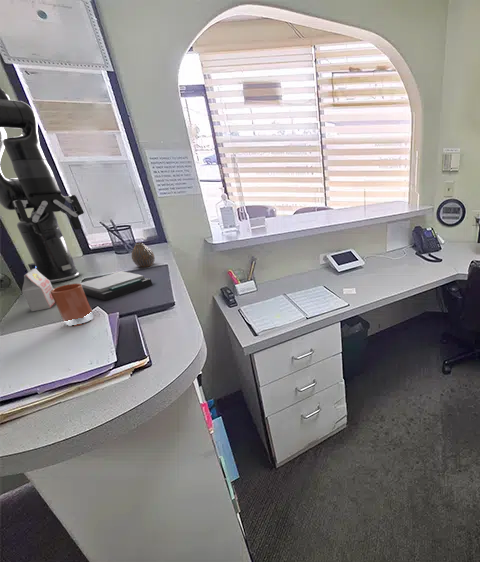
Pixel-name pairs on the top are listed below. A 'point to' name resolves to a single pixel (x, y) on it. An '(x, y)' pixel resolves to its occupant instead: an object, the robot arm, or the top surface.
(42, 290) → the milk carton
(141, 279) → the scale
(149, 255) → the brown coconut
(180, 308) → the top surface
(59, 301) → the cup
